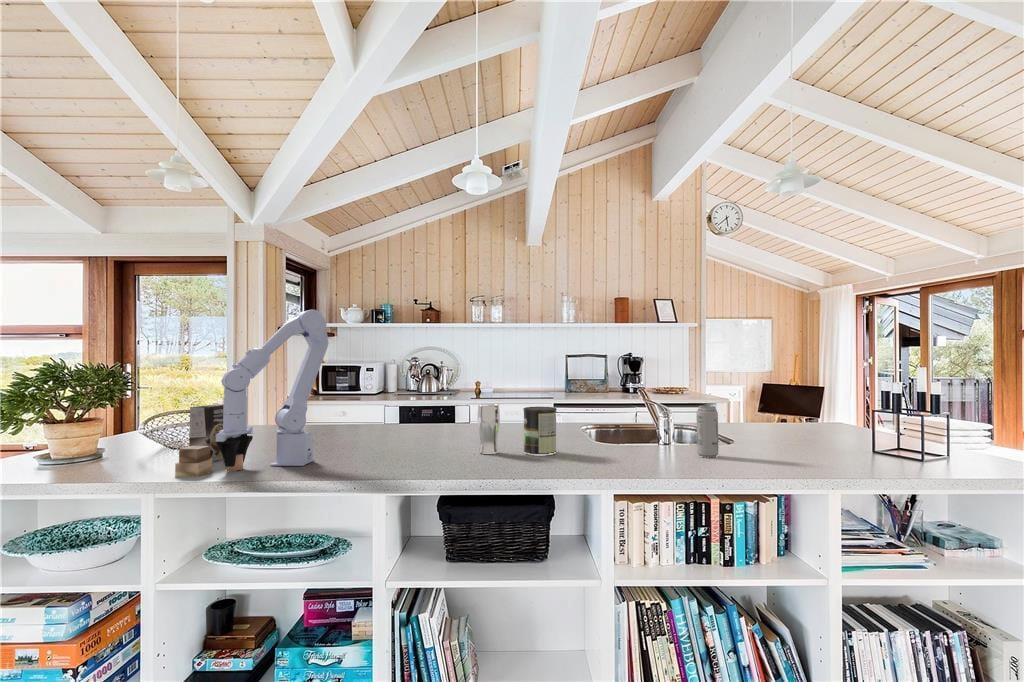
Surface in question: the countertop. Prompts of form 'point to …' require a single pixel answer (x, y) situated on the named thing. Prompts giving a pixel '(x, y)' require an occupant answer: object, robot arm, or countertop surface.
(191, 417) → the coffee box
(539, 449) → the coffee can
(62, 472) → the countertop surface
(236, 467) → the light brown wooden cube
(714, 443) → the energy drink can
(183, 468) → the oak slab
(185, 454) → the walnut slab
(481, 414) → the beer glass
